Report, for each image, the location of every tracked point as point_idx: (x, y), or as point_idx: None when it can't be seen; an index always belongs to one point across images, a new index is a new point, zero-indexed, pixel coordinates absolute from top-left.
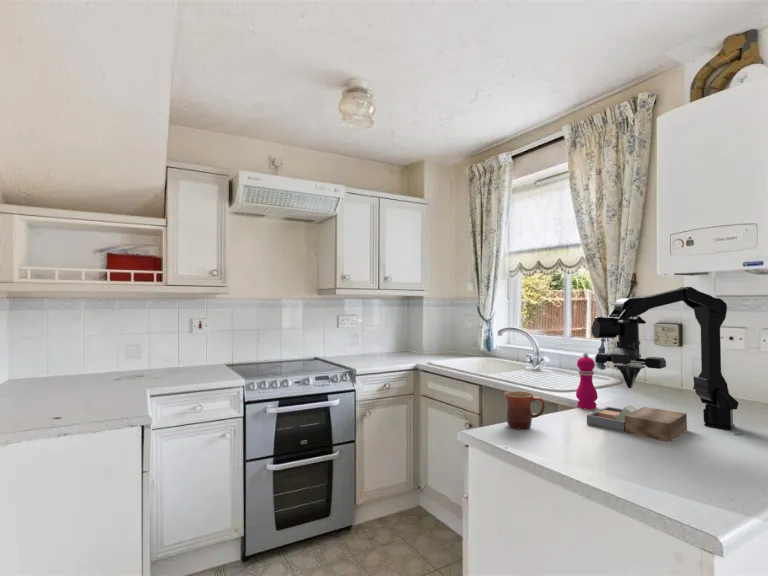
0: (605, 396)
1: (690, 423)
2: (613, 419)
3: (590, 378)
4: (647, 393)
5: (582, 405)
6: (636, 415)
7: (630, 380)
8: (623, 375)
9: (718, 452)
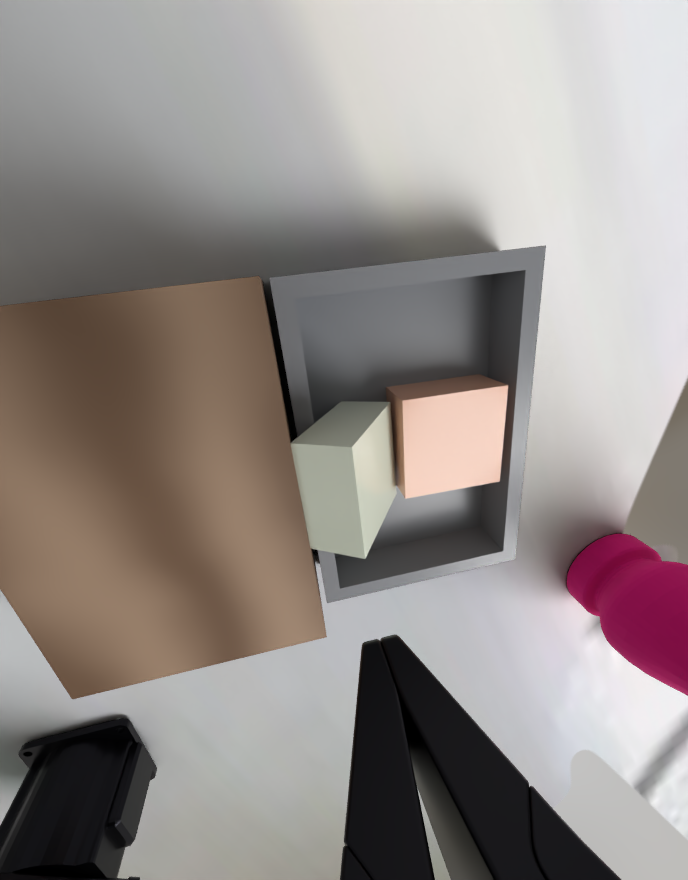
0: (588, 738)
1: (187, 702)
2: (399, 391)
3: None
4: None
5: (627, 542)
6: (208, 376)
7: (384, 766)
8: (565, 843)
9: None
